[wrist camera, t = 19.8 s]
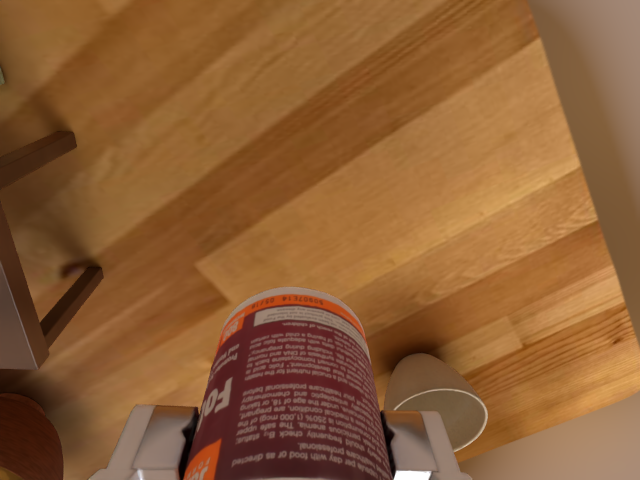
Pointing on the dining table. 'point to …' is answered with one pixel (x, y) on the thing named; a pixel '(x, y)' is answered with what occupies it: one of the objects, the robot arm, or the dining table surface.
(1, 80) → the chair
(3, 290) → the toy table
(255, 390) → the pill bottle
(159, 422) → the robot arm
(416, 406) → the flower pot
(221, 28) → the dining table surface
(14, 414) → the bowl
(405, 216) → the dining table surface
